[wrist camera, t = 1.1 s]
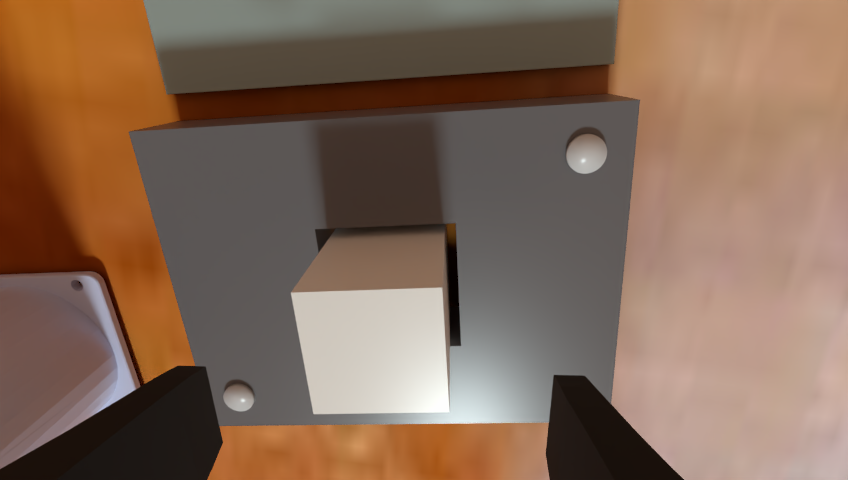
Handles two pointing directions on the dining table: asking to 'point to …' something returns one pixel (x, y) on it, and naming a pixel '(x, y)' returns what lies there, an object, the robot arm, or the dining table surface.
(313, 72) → the mat
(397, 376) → the plug
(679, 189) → the dining table surface
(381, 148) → the plate
